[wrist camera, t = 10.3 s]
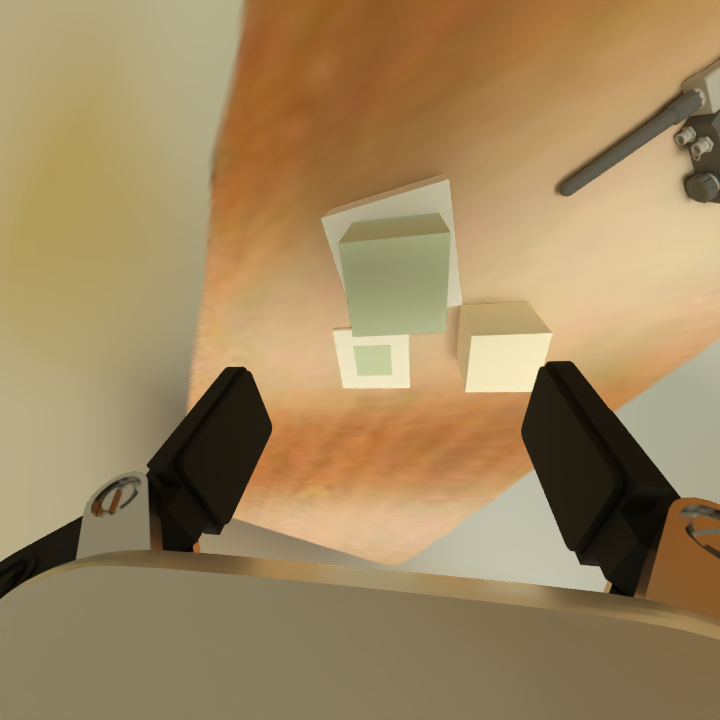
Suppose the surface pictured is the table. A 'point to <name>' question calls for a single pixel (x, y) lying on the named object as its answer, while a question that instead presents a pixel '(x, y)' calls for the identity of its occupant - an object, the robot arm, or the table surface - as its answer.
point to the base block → (399, 203)
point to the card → (372, 360)
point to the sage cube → (396, 275)
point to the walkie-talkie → (677, 137)
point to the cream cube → (501, 347)
